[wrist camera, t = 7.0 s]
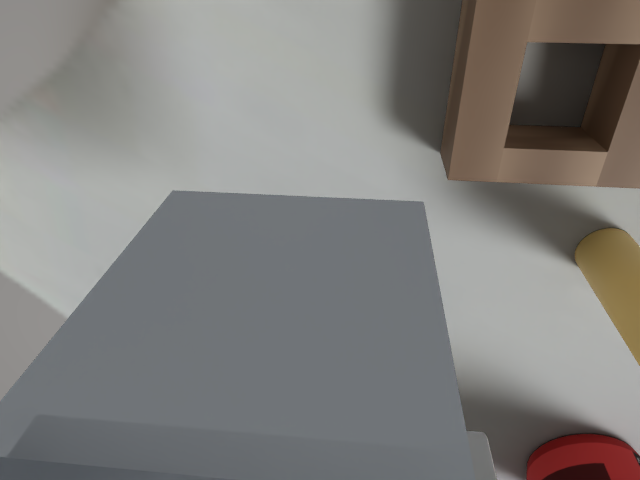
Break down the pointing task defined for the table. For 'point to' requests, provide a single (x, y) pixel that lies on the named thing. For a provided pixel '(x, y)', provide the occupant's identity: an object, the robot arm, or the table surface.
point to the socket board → (501, 85)
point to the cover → (250, 352)
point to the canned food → (584, 459)
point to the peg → (614, 279)
